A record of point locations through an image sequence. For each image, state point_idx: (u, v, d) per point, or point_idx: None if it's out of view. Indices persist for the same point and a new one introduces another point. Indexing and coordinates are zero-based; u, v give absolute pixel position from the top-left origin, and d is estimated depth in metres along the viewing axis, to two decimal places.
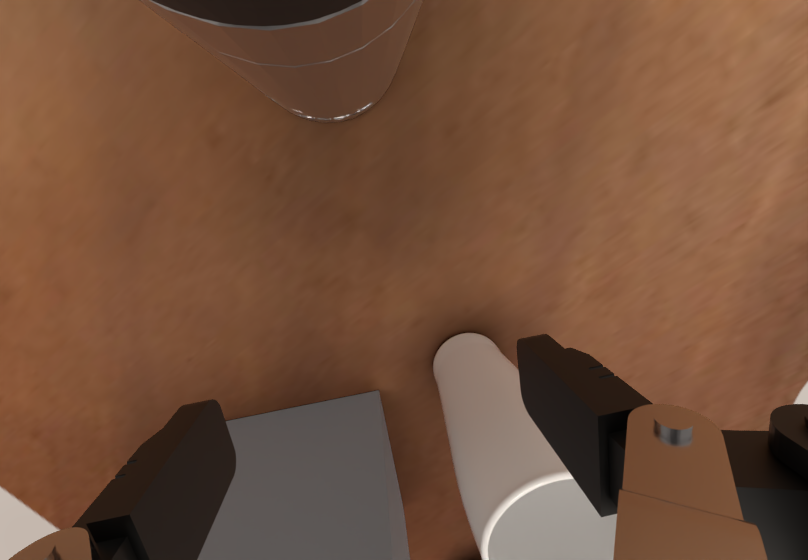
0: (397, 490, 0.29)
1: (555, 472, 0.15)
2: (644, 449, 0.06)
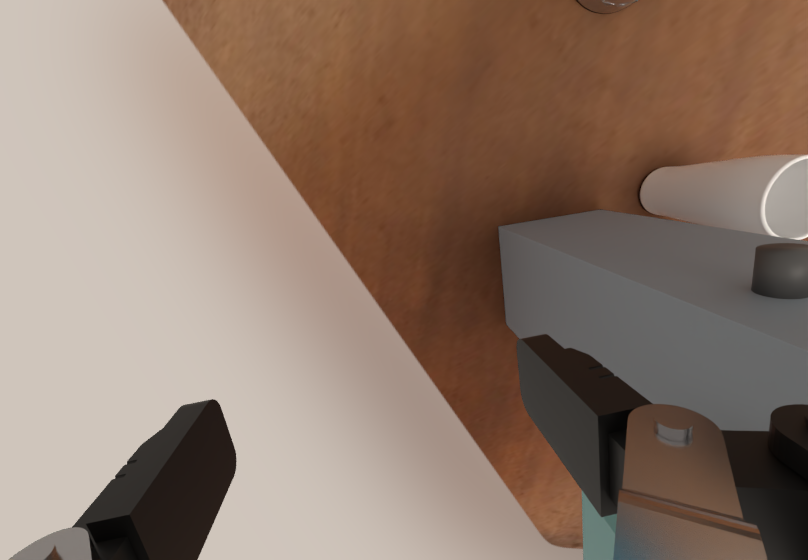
0: None
1: (805, 155, 0.29)
2: (644, 449, 0.06)
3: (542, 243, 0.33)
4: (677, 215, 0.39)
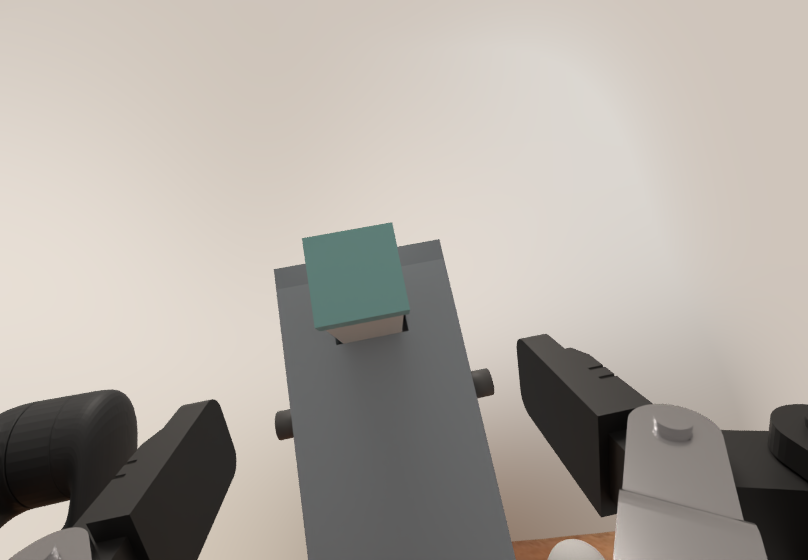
0: None
1: None
2: (644, 449, 0.06)
3: None
4: None
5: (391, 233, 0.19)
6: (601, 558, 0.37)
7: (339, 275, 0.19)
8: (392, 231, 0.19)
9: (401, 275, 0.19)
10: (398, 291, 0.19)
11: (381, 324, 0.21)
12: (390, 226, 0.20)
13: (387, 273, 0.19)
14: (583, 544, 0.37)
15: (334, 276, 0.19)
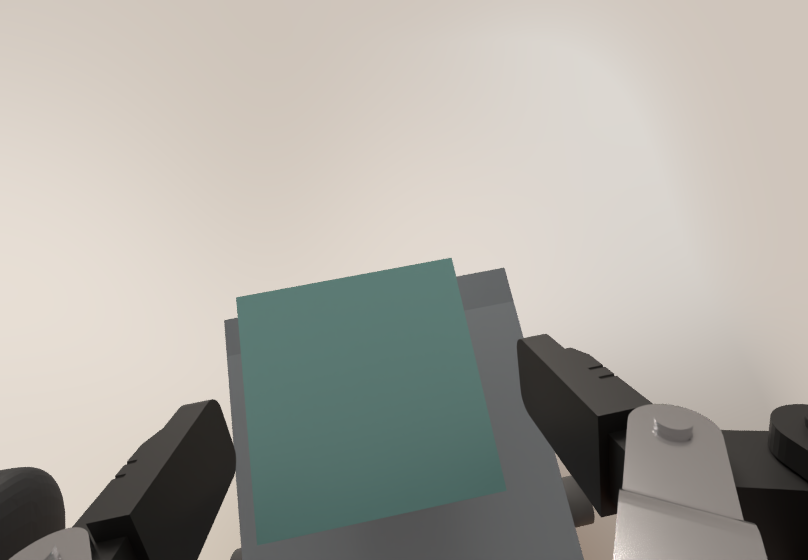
0: None
1: None
2: (644, 449, 0.06)
3: None
4: None
5: (452, 284, 0.08)
6: None
7: (324, 394, 0.07)
8: (453, 280, 0.08)
9: (480, 394, 0.07)
10: (474, 438, 0.07)
11: None
12: (448, 267, 0.08)
13: (444, 389, 0.08)
14: None
15: (312, 397, 0.07)
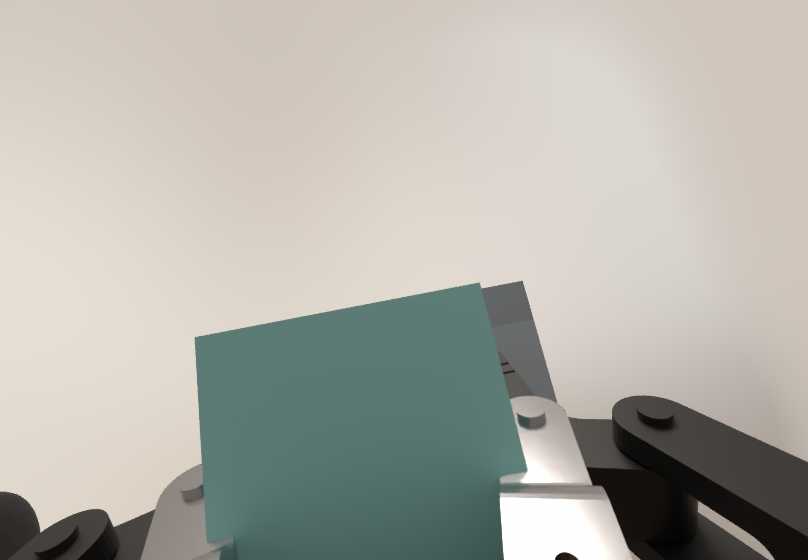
0: None
1: None
2: None
3: None
4: None
5: (481, 319, 0.06)
6: None
7: (312, 472, 0.06)
8: (483, 313, 0.06)
9: (523, 471, 0.06)
10: None
11: None
12: (475, 296, 0.06)
13: (475, 463, 0.06)
14: None
15: (295, 475, 0.06)
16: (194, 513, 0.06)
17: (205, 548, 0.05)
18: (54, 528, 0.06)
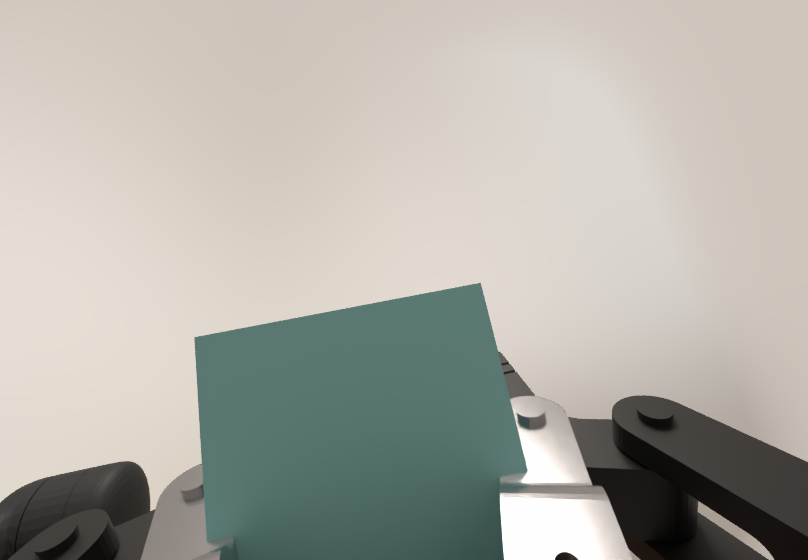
0: None
1: None
2: None
3: None
4: None
5: (482, 319, 0.06)
6: None
7: (312, 472, 0.06)
8: (484, 313, 0.06)
9: None
10: None
11: None
12: (476, 296, 0.06)
13: (475, 464, 0.06)
14: None
15: (295, 476, 0.06)
16: (195, 513, 0.06)
17: (205, 547, 0.05)
18: (54, 528, 0.06)
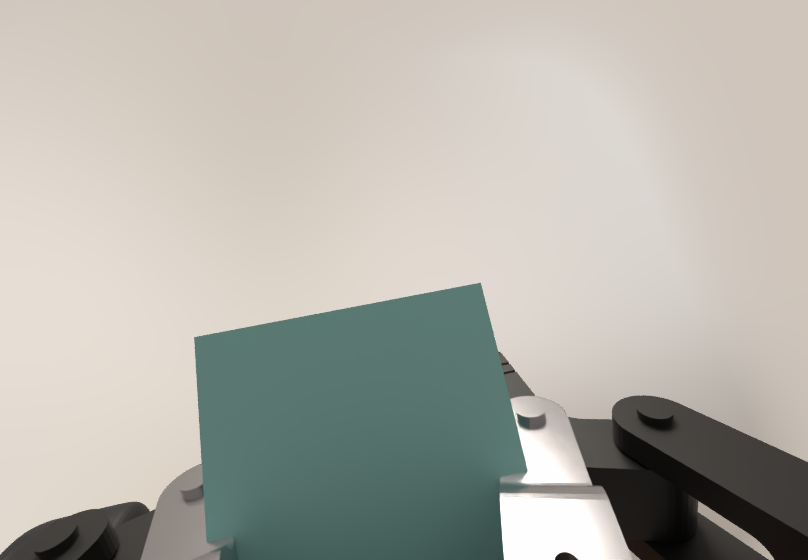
0: None
1: None
2: None
3: None
4: None
5: (482, 319, 0.06)
6: None
7: (312, 472, 0.06)
8: (484, 313, 0.06)
9: None
10: None
11: None
12: (476, 296, 0.06)
13: (475, 464, 0.06)
14: None
15: (295, 476, 0.06)
16: (194, 513, 0.06)
17: (205, 548, 0.05)
18: (55, 528, 0.06)
